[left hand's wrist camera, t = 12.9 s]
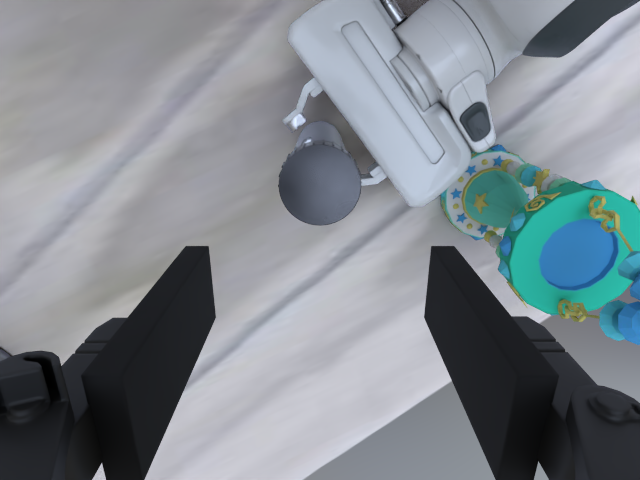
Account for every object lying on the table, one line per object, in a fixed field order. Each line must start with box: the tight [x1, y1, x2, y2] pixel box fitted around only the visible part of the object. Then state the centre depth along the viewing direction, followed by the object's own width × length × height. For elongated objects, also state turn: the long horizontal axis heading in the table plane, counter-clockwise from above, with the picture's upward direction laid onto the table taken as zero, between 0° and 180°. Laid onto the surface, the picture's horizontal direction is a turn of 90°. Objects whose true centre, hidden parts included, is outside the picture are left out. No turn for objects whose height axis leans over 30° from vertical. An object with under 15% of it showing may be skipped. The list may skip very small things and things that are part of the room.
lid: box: [278, 139, 362, 225], centre depth 28 cm, size 6×6×2 cm
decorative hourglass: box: [440, 145, 640, 345], centre depth 34 cm, size 11×11×30 cm
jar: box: [294, 121, 346, 150], centre depth 37 cm, size 5×5×20 cm
